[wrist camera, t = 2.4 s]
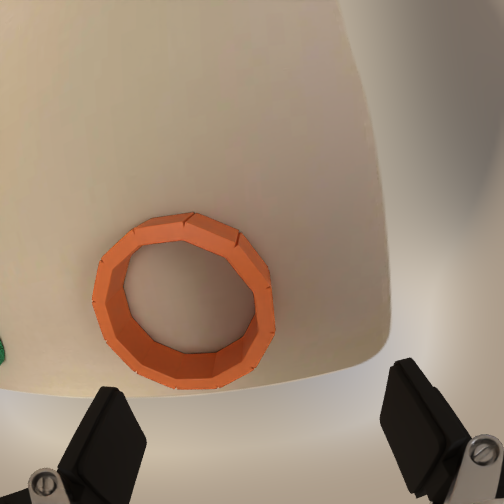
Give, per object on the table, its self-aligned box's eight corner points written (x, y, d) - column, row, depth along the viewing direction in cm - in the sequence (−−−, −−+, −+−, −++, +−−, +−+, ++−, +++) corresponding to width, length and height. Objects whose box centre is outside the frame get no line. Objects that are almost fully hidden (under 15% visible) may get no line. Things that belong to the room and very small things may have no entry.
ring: (261, 203, 18) (263, 211, 15) (277, 358, 21) (280, 384, 18) (97, 227, 18) (74, 237, 15) (136, 364, 21) (124, 388, 18)
